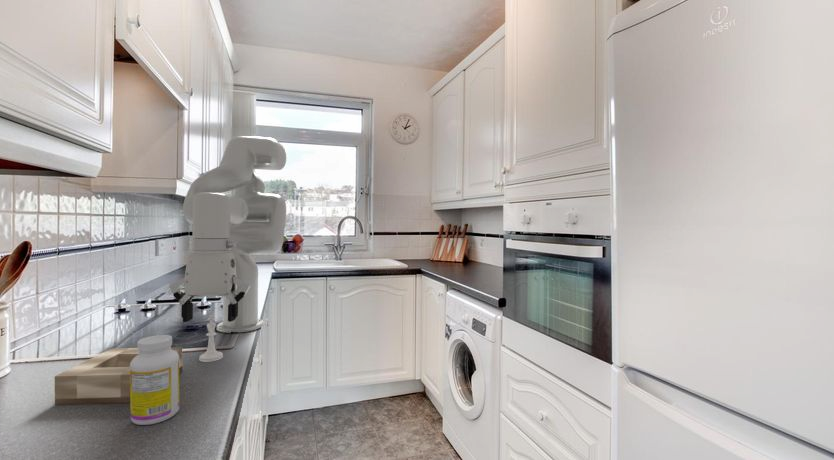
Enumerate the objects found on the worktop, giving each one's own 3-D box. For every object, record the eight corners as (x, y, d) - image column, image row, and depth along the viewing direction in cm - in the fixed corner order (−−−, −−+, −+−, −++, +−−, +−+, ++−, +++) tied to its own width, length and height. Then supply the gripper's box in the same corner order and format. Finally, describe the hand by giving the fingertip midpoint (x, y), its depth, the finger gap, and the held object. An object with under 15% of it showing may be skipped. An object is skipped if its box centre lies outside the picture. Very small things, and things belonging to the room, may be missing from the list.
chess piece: (212, 363, 85) (212, 319, 84) (193, 361, 86) (194, 317, 85) (227, 355, 90) (228, 313, 89) (209, 353, 91) (210, 312, 90)
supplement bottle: (153, 404, 66) (153, 331, 65) (188, 407, 65) (188, 333, 65) (119, 425, 59) (118, 344, 59) (158, 428, 58) (158, 346, 58)
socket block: (111, 372, 79) (111, 348, 79) (182, 370, 80) (182, 347, 80) (54, 404, 65) (54, 376, 65) (141, 402, 66) (141, 374, 66)
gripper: (255, 246, 91) (254, 316, 91) (179, 245, 89) (178, 317, 89) (244, 247, 84) (243, 324, 84) (162, 246, 82) (160, 325, 82)
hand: (210, 320), depth 87 cm, fingers open, 9 cm apart
